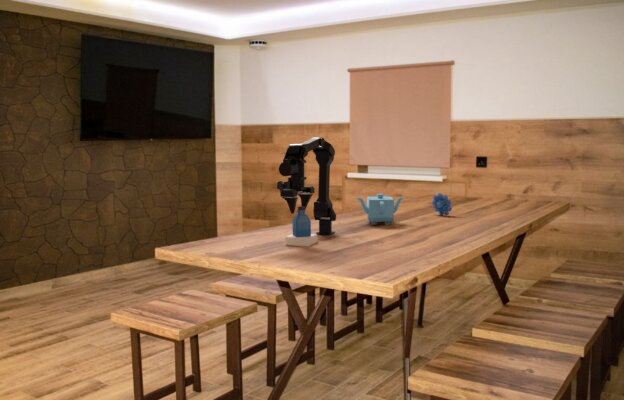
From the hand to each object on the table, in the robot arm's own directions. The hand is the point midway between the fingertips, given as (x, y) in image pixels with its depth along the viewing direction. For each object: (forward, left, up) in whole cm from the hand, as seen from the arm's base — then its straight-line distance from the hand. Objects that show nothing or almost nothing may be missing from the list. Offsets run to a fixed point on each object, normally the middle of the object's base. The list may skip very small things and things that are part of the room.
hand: (298, 212), depth 247 cm
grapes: (-102, +30, -13) cm, 107 cm away
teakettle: (-65, +10, -13) cm, 67 cm away
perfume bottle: (0, +2, -10) cm, 10 cm away
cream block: (0, +1, -14) cm, 14 cm away
